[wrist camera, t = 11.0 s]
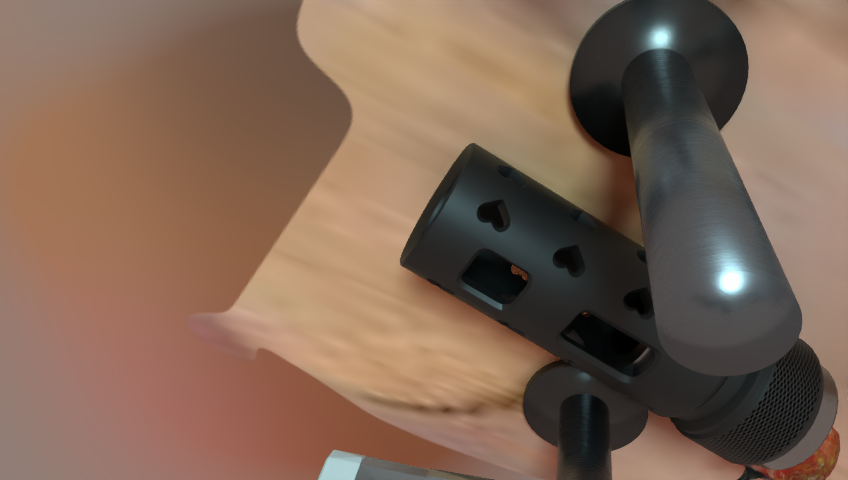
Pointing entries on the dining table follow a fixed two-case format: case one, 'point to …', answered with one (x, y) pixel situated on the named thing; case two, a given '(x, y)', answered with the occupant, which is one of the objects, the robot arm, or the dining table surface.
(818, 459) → the pomegranate
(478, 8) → the dining table surface
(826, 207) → the dining table surface
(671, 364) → the muzzle brake
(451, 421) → the dining table surface
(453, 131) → the dining table surface
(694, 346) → the posts
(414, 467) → the robot arm
